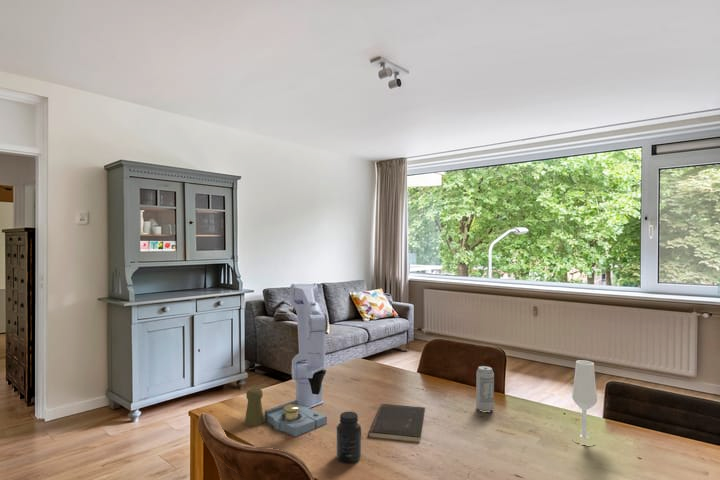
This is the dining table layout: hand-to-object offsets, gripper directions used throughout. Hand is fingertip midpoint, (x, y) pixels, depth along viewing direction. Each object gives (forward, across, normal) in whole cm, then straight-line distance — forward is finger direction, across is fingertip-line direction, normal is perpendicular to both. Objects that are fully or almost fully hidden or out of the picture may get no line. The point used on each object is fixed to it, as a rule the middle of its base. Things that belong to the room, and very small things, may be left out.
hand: (315, 393), depth 140 cm
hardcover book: (+11, -8, +26) cm, 29 cm away
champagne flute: (+11, -9, +82) cm, 84 cm away
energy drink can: (+11, -27, +54) cm, 62 cm away
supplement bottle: (+11, +17, +15) cm, 25 cm away
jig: (+10, -1, -7) cm, 13 cm away
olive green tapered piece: (+11, +3, -20) cm, 23 cm away
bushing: (+10, +2, -8) cm, 13 cm away
